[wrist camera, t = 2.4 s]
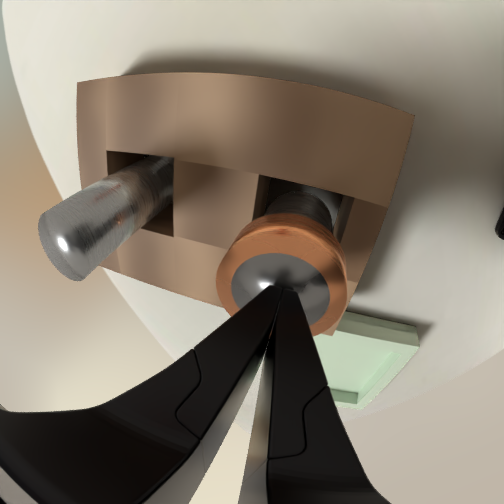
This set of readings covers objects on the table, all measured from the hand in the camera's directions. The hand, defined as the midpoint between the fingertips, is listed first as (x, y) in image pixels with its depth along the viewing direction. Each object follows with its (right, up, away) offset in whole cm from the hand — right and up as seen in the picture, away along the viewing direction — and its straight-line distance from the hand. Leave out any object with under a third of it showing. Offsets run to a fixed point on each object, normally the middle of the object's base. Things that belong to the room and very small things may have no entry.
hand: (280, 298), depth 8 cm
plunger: (+1, +3, +4) cm, 5 cm away
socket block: (-2, +5, +7) cm, 9 cm away
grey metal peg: (-6, +6, +8) cm, 11 cm away
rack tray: (+6, -7, +13) cm, 15 cm away
